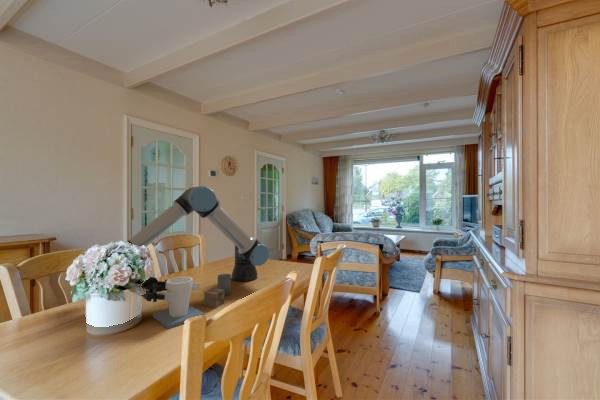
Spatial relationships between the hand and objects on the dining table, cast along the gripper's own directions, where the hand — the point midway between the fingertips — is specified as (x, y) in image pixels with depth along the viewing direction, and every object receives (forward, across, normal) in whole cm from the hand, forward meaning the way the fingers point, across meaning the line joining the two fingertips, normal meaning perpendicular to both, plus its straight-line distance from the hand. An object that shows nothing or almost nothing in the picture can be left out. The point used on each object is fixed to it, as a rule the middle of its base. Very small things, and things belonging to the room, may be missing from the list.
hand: (186, 291), depth 104 cm
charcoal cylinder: (-2, -28, -10) cm, 30 cm away
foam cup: (-3, 0, -9) cm, 10 cm away
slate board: (-3, 0, -10) cm, 11 cm away
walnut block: (+2, -16, -10) cm, 19 cm away
